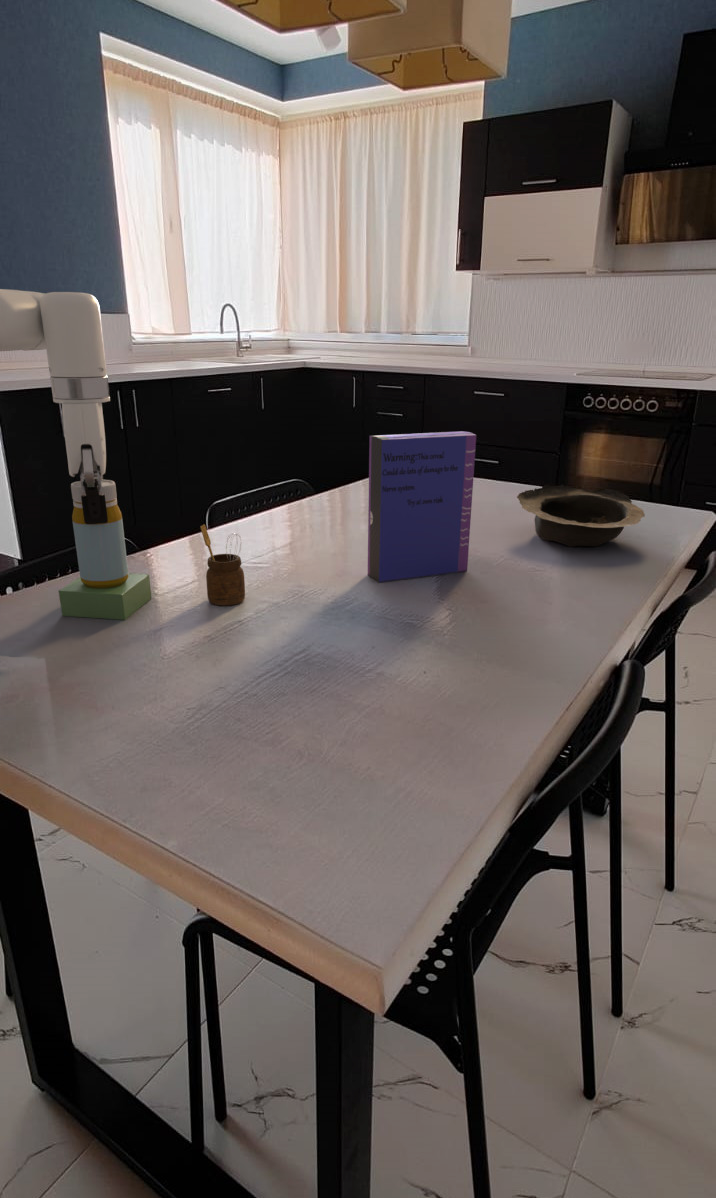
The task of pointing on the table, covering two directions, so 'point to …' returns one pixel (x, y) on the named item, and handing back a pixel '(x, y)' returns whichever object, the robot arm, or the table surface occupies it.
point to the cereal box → (419, 504)
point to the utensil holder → (224, 576)
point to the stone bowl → (579, 514)
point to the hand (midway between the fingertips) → (96, 516)
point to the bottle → (100, 541)
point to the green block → (105, 598)
